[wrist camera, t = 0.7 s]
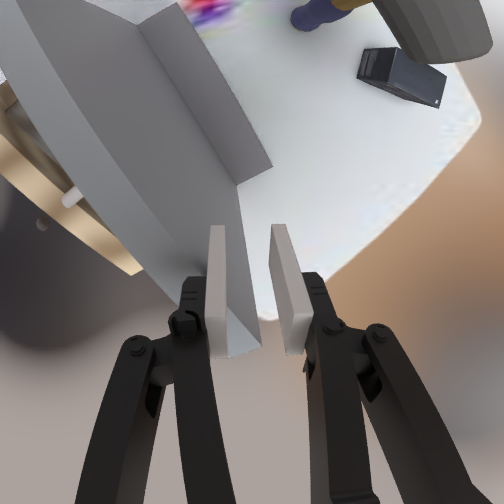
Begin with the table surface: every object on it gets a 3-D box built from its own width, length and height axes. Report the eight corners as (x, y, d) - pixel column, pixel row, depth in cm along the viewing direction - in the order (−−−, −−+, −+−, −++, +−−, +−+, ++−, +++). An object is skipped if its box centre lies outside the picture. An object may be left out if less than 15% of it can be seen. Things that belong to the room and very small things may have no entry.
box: (411, 70, 35) (448, 76, 27) (403, 99, 38) (439, 110, 30) (363, 47, 33) (397, 45, 25) (355, 79, 36) (387, 83, 28)
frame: (25, 75, 22) (-54, 147, 11) (44, 55, 21) (-36, 115, 10) (132, 189, 40) (127, 290, 29) (151, 176, 40) (152, 276, 29)
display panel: (86, 66, 30) (-80, 99, 6) (178, 4, 27) (103, -103, 3) (183, 210, 45) (156, 382, 21) (271, 163, 43) (345, 311, 18)
